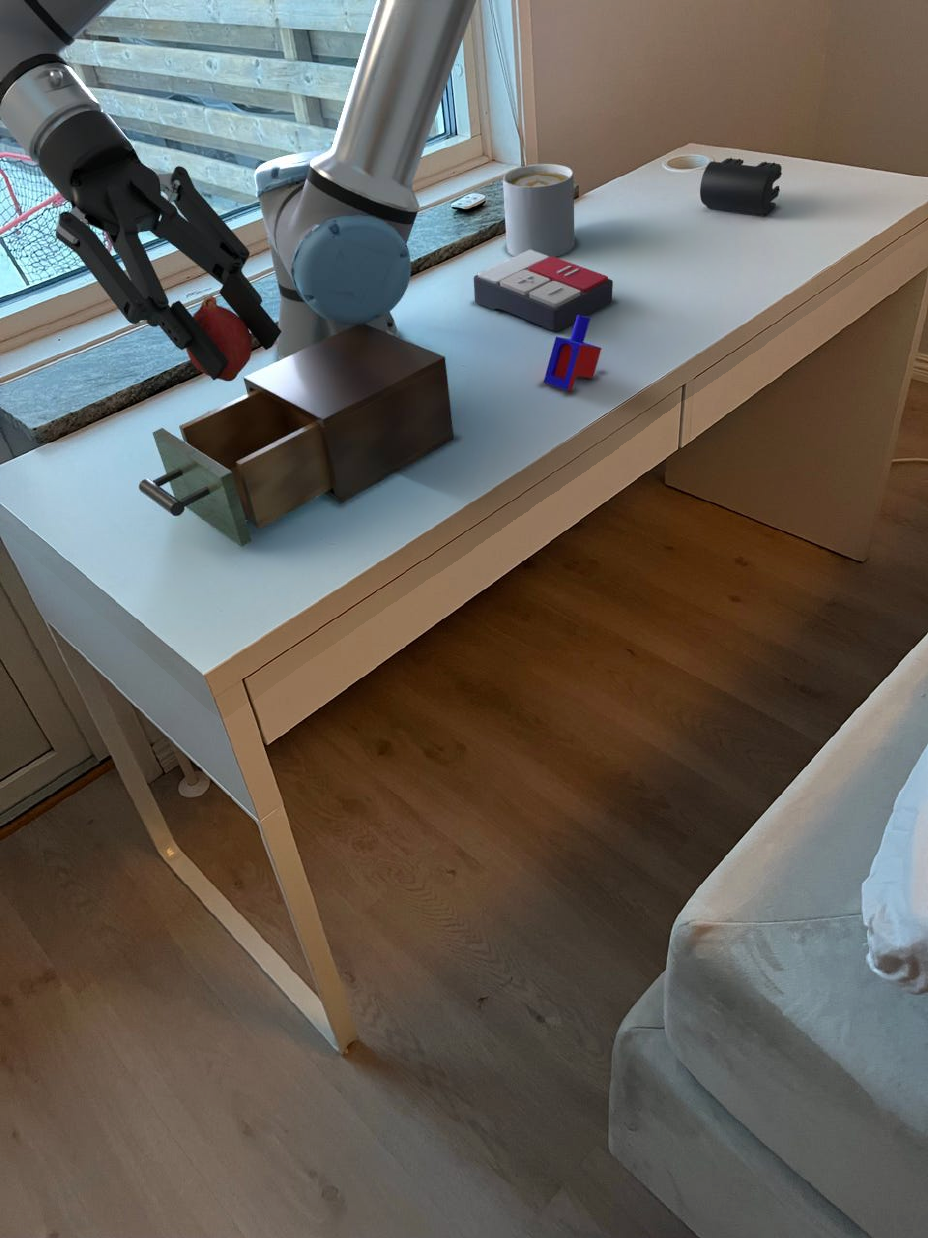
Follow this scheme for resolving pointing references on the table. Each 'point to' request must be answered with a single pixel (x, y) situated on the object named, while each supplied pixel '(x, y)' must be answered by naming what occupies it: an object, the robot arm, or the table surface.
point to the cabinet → (365, 402)
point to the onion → (224, 337)
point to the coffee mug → (539, 209)
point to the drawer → (241, 465)
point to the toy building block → (572, 357)
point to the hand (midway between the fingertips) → (247, 355)
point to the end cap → (740, 186)
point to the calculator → (542, 289)
